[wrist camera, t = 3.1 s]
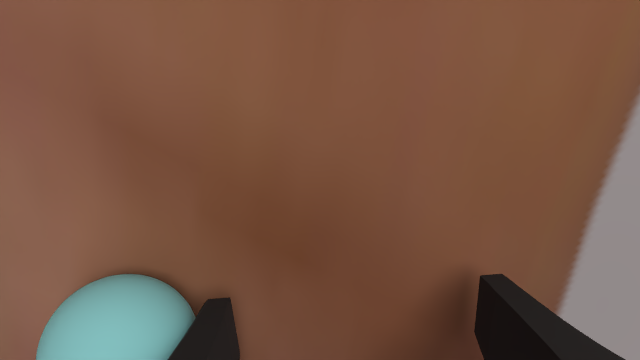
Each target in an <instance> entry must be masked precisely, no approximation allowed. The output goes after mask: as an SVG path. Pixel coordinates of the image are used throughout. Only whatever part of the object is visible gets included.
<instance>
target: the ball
mask: <svg viewBox="0 0 640 360" xmlns="http://www.w3.org/2000/svg"><path fill="white" fill-rule="evenodd" d="M195 318H196V317H195V315H194V313H193V311H192V309H191V307H190V305H189V304H188V302H187V301H186V300H185V299H184V298H183V297H182V296H181V294H180V293H179V292H177V291H176V290H175V289H174V288H172V287H171V286H169V285H168V284H166V283H164V282H162V281H160V280H158V279H155V278H152V277H149V276H144V275H139V274H121V275H113V276H109V277H105V278H102V279H99V280H96V281H94V282H91V283H89V284H87V285H86V286H84V287H82V288H80V289H79V290H77V291H76V292H75V293H73V294H72V295H71V296H69V297H68V298H67V299H66V300H65V301H64V302H63V303H62V304H61V305H60V306H59V307H58V308H57V310H56V311H55V312H54V314H53V315H52V316H51V318H50V319H49V321H48V323H47V325H46V327H45V329H44V331H43V333H42V335H41V338H40V341H39V345H38V349H37V356H36V360H167V359H168V358H169V357H170V355H171V354H172V352H173V351H174V350H175V348H176V347H177V345H178V344H179V342H180V341H181V340H182V338H183V337H184V335H185V334H186V332H187V331H188V329H189V328H190V326H191V324H192V323H193V321H194V320H195Z"/></svg>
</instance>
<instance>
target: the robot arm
mask: <svg viewBox="0 0 640 360" xmlns="http://www.w3.org/2000/svg"><path fill="white" fill-rule="evenodd" d="M474 332H475V335H476V338H477V341H478V344H479V346H480V349H481V352H482V355H483V357H484V360H625V359H623V358H622V357H620V356H618V355H616V354H614V353H613V352H611V351H610V350H608V349H606V348H605V347H603V346H601V345H600V344H598V343H597V342H595V341H593V340H592V339H591V338H589V337H588V336H586V335H584V334H583V333H582V332H580V331H578V330H577V329H576V328H574V327H573V326H571V325H570V324H568V323H567V322H565V321H564V320H563V319H561V318H560V317H558V316H557V315H556V314H554V313H553V312H552V311H550V310H549V309H548V308H546V307H545V306H544V305H542V304H541V303H540V302H538V301H537V300H536V299H534V298H533V297H532V296H530V295H529V294H528V293H527V292H525V291H524V290H523V289H521V288H520V287H519V286H517V285H516V284H515V283H513V282H512V281H511V280H510V279H508V278H507V277H505V276H504V275H503V274H493V275H482V276H480V283H479V292H478V302H477V311H476V321H475V330H474ZM167 360H240V351H239V345H238V339H237V334H236V328H235V322H234V317H233V311H232V305H231V300H230V298H218V299H208V300H207V301H206V302H205V303H204V305H203V307H202V308H201V310H200V312H199V313H198V315H197V317H196V318H195V320H194V321H193V323H192V324H191V326H190V328H189V329H188V331H187V332H186V334H185V335H184V337H183V338H182V340H181V341H180V342H179V344H178V345H177V347H176V348H175V350H174V351H173V352H172V354H171V355H170V357H169V358H168V359H167Z"/></svg>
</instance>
